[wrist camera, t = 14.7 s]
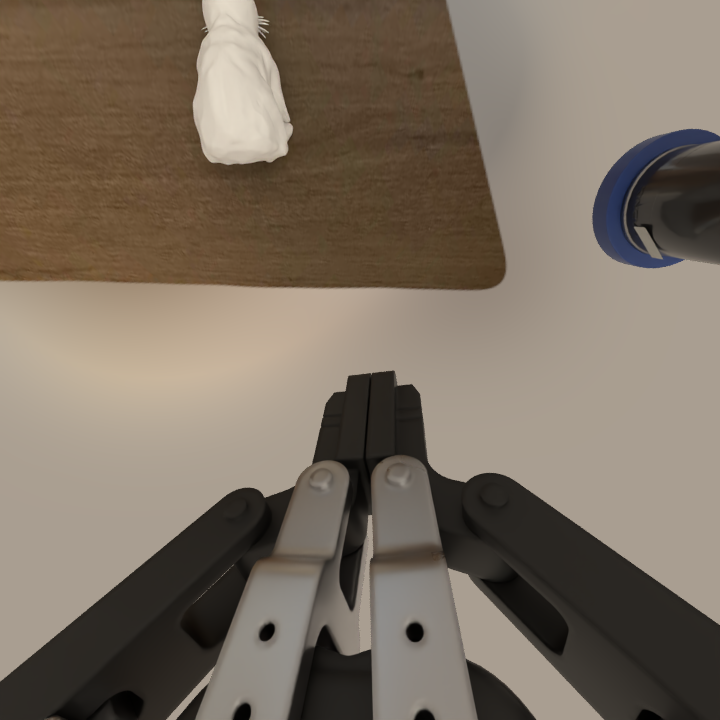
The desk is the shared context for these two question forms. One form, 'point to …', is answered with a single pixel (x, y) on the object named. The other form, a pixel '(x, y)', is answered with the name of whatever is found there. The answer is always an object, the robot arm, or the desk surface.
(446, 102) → the desk surface
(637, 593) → the robot arm
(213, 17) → the white animal figurine
